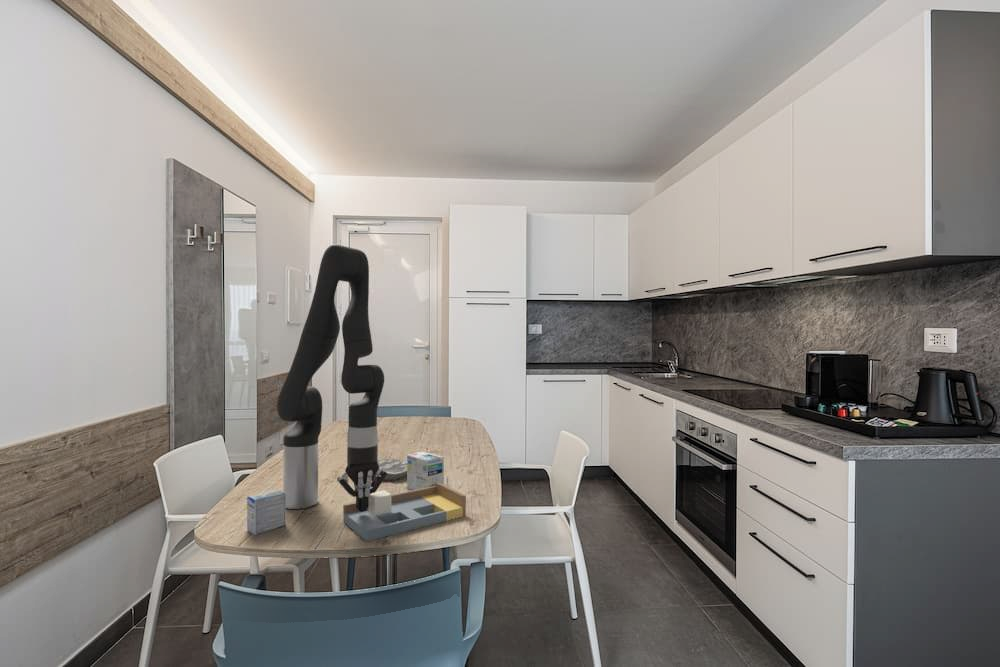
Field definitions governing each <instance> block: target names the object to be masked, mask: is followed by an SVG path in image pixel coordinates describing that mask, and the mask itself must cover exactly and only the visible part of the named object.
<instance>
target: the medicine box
mask: <svg viewBox="0 0 1000 667" xmlns="http://www.w3.org/2000/svg"><path fill="white" fill-rule="evenodd" d="M246 502H247V503H246V530H247V531H248V532H249V533H251V534H252V533H253V534H252V535H254V536H255V535H256V536H257V535H260V534H263V533H265V531H266V532H268V530H269V531H272V530H275V529H277V528H278V527H279V528H282V527H285V526H286V525H287V524H286V521H287V520H286V516H287V514H286V513H287V512H286V509H287V508H286V493H285V492H283V490H281V489H278V488H276V489H272V490H268V491H267V490H266V491H264V492H260V493H256V494H251V495H248V496H247V498H246ZM284 525H285V526H284ZM281 526H282V527H281ZM279 528H278V529H279ZM262 532H263V533H262ZM259 533H260V534H259Z"/></svg>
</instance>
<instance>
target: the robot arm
mask: <svg viewBox="0 0 1000 667" xmlns="http://www.w3.org/2000/svg"><path fill="white" fill-rule="evenodd" d="M320 261H321V262H320V265H319V269H318V273H317V274H318V275H317V279H316V284H315V289H314V294H313V296H312V300H311V304H310V307H309V310H308V312H307V317H306V319H305V323H304V324H303V328H302V331H301V335H300V338H299V342H298V345H297V349H296V352H295V354H294V358H293V360H292V364H291V366H290V368H289V371H288V373H287V375H286V378H285V380H284V382H283V384H282V387H281V390H279V391H280V392H279V394H278V398H277V403H276V411H277V415H278V416H279V418H280V420H282V421H284V422H288V423H289V422H291V423H292V422H295V424H294V426H293V427H291V429H290V430H289V431H287V432H286V433H285V434H284V435H283V474H282V476H283V482H282V483H283V484H282V485H283V487H282V488H283V490H282V491H283V492H285V493H286V509H291V510H300V509H301V508H302V509H306V508H310V507H314V506H315V505H317V504H318V502H319V437H320V434H321V431H322V422H323V420H322V417H323V398H322V395H321V393H320V391H319V389H318V388H316V387H315V386H312V385H309V384H310V382H311V380H312V378H313V376H314V375H315V374H316V373H317V372H318V370H319V369H320V368H321V367H323V365H324V364H325V363H326V362H327V360H328V359H329V358H330V356H331V355H332V354H333V351H334V350H335V347H336V343H337V340H338V338H339V334H340V330H341V332H342V339H343V347H344V354H343V364H342V372H341V382H340V383H341V386H342V387H343V390H344V391H345V392H346V393H348V394H351V395H352V394H362V393H363V394H364V395H363V397H362V399H360V400H359V401H355V402H352V403H351V404H350V405H349V406H348V429H347V436H346V437H347V438H346V439H347V440H346V442H347V444H346V447H347V453H346V456H347V457H346V458H347V459H346V460H347V462H346V463H347V465H346V468H345V472H344V473H343V474H342V475H341V476H338V477H337V479H336V482H338V484H340V485H341V487H342V488H343V489H344V490H345V491H346V492H347V494H349V496H351V497H352V498H355V502H356V508H357V509H358V510H359V511H360V512H364V511H366V510H367V508H368V507H369V495H370V494H371V493H375V492H377V490H378V489H379V488H380V486H381V485H382V483H383V481H385V480H384V478H385V477H386V475H387V472H385V471H383V470H381V469H379V465H378V463H377V461H378V454H379V452H378V451H379V449H378V448H379V446H378V444H379V437H378V436H379V435H378V434H379V433H378V408H379V403H380V401H381V400H380V399H381V396H382V392H383V390H384V386H385V385H384V384H385V374H384V371H383V369H382V368H381V367H380V366H379V365H377V364H361V365H359V362H358V361H359V359H361V358H365V357H368V356H370V355H372V353H373V340H372V334H371V333H372V332H371V327H370V326H371V325H370V318H369V317H370V316H369V295H370V294H369V292H370V287H369V286H370V267H369V266H370V265H369V259H368V256H367V255H366V253H365V252H364V251H362V250H361V249H357V248H354V247H350V246H349V247H348V246H345V245H340V244H334V243H333V244H330V245H329V246H327V248H326V249H325V250H324V253H323V254H322V258H321V260H320ZM339 282H345V283H346V282H347V283H349V287H350V295H351V296H350V302H349V304H348V307H347V309H346V311H345V313H344V317H343V320H342V323H341V325H340V319H339V315H338V311H337V309H336V304H335V295H336V291H337V287H338V284H339ZM375 474H376V477H375V478H374V476H375ZM373 478H374V479H373ZM349 481H351V482H352V483H353V486H354V489H353V487H352V486H351V485H350V484H349ZM313 505H314V506H313Z"/></svg>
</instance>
